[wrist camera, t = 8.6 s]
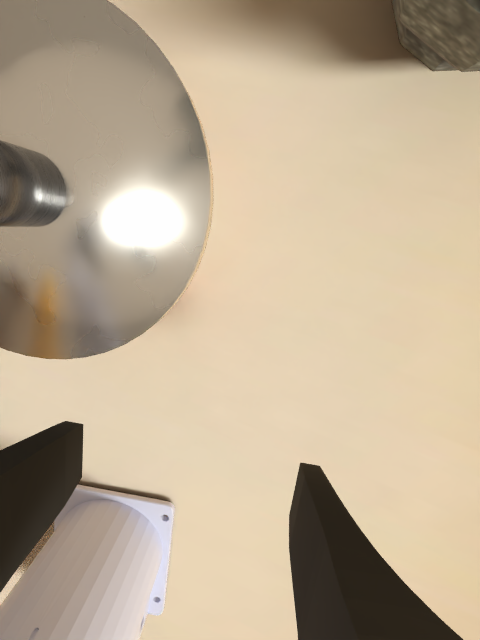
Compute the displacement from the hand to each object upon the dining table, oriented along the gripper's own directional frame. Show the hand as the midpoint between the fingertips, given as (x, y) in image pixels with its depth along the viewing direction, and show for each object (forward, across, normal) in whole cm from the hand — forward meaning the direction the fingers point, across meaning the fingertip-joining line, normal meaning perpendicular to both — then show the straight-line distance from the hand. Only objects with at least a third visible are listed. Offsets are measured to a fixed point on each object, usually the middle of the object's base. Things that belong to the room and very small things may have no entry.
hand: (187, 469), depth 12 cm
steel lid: (+5, +8, -8) cm, 12 cm away
